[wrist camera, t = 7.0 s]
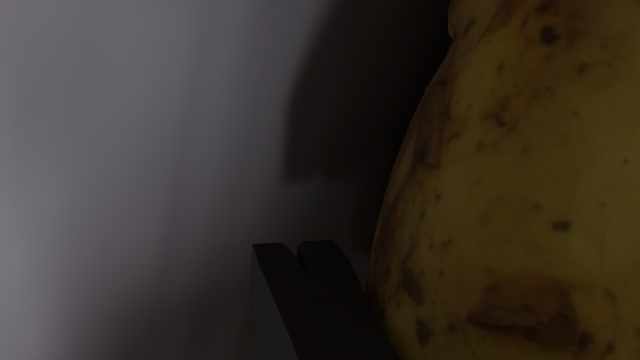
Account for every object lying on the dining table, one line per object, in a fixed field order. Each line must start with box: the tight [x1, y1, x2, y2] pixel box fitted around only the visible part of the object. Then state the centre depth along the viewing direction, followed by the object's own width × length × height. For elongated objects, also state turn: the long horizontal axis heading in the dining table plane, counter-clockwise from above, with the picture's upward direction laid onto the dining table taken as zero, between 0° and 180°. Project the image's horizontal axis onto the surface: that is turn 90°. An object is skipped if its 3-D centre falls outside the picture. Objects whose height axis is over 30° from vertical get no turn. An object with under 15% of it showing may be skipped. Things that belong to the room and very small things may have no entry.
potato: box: [365, 0, 640, 360], centre depth 8 cm, size 8×13×8 cm, turn 147°
